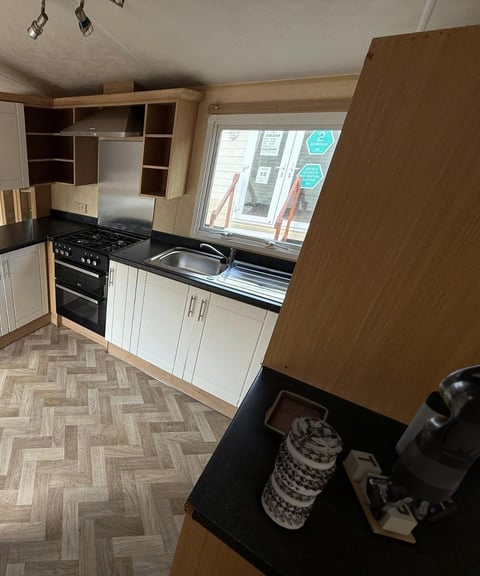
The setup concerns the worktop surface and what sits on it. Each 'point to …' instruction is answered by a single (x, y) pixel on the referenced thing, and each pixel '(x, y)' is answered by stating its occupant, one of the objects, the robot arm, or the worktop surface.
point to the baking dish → (290, 413)
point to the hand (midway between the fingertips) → (389, 519)
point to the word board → (366, 507)
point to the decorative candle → (301, 471)
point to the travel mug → (424, 418)
